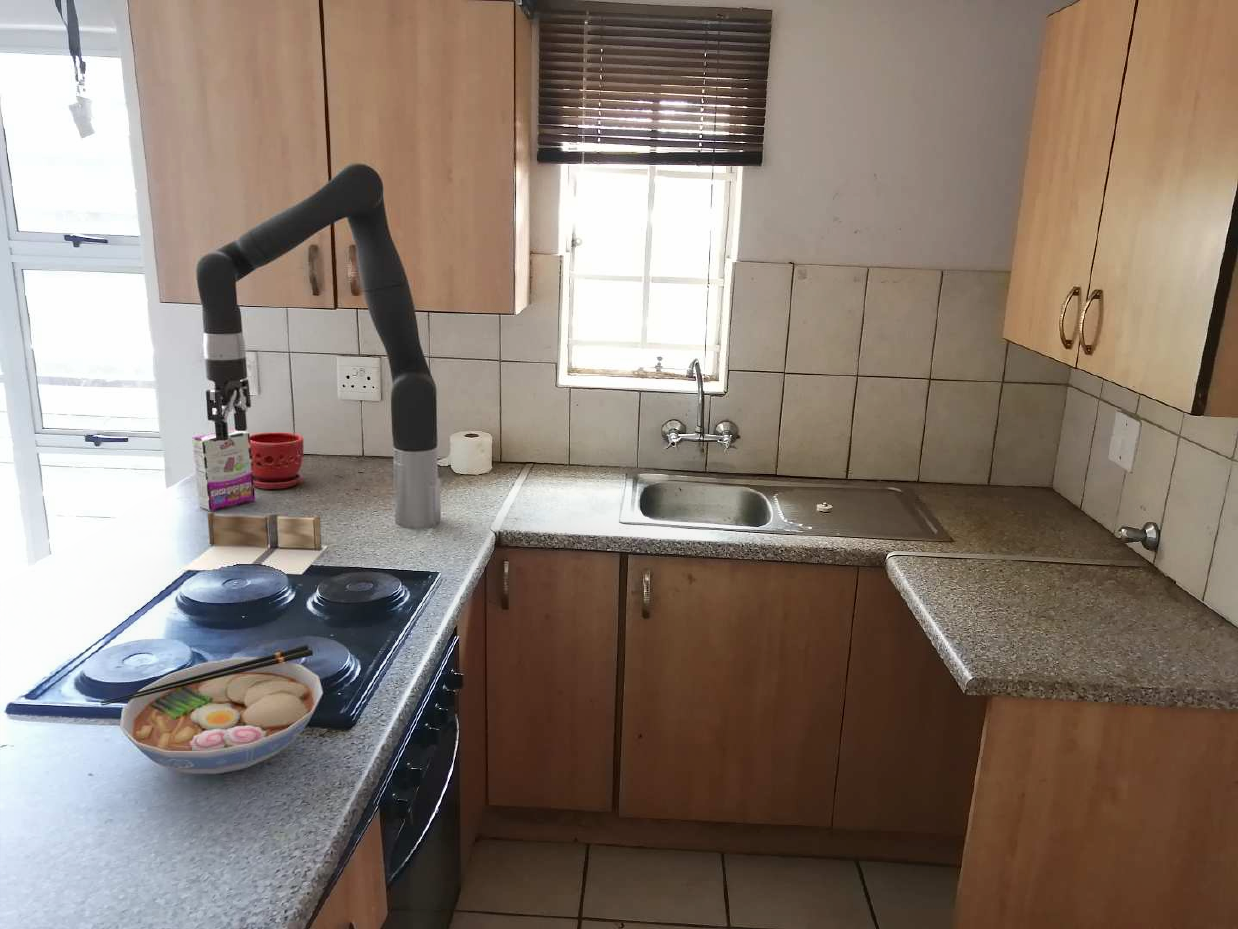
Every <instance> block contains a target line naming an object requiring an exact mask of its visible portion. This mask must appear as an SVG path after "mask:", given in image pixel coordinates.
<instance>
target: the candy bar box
mask: <svg viewBox="0 0 1238 929" xmlns="http://www.w3.org/2000/svg"><path fill="white" fill-rule="evenodd" d="M228 436H229V438H228V440H226V441H221V440H217V439H216V432H215V433H209V434H203V435H199V436H193V437H192V447H193V448H192V449H193V457H194V464H195V474H196V475H195V476H196V484H197V486H196V487H197V494H198V503H199V508H201V509H202V510H206V511H208V512H215V511H218V510H223V509H228V508H232V507H235V506H239V505H243V504H247V503H252V502H254V501H256V497H255V495H256V493H255V486H254V482H253V470H252V459H251V448H250V436H251V435H250V432H249V431H247V430H245V431H236V430H235V429H231V430H228Z"/></svg>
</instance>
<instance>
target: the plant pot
mask: <svg viewBox="0 0 1238 929" xmlns="http://www.w3.org/2000/svg"><path fill="white" fill-rule="evenodd" d="M249 436H250V448H251V459H252V470H253V482H254V487H256V488H260V490H261V489H262V490H264V489H265V490H281V489H286V488H289V487H292V486H295V485H296V484H298V483H299V482H300V480H301V475H300V474H299V471H300V470H301V467H302V463H303V458H304V438H303V436H301V435H299V434H295V433H290V432H261V433H255V434H250V435H249Z"/></svg>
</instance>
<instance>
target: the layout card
mask: <svg viewBox="0 0 1238 929" xmlns="http://www.w3.org/2000/svg"><path fill="white" fill-rule="evenodd" d="M278 546H279V543H278ZM328 546H329V545H322V549H320V550H316V549H313V548H287V547H278V548H270V543H269V546H267V547H261V546H235V545H211V546H210V548H208V549H207V550H206V551H204V552H203V553H202V554H200V555H199V556H198V557H197V558H195V559H194V560H193V561H191V563H189V564H188V565H186V566H185V567H183V569H182V571H203V570H213V569H219V568H221V567H227V566H233V565H236V564H262V565H266V566H270V567H273V568H275V569H278V570H281V571H282V572H284V573H285V574H286V575H303V574H304V573H305V571H306V570H307V569H308V568H309V567H310V566H311V565H312V564H313V563H314V562H315V561H316V560H317V559H318V557H319V556H320V555H321V554H322V553H323V552H324V551H325V550H326V549H327V548H328ZM285 574H284V575H285Z"/></svg>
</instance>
